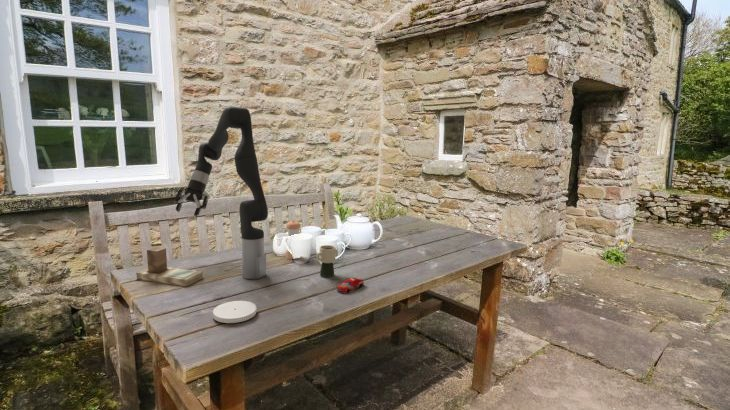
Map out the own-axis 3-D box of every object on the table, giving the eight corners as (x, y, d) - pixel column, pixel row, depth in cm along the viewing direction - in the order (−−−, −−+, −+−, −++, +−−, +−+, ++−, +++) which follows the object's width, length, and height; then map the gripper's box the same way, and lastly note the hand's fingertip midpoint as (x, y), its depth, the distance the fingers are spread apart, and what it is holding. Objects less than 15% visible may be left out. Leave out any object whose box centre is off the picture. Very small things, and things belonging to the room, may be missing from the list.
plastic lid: (230, 305, 142) (229, 298, 141) (264, 311, 138) (264, 304, 137) (203, 321, 129) (203, 314, 128) (240, 329, 125) (240, 321, 124)
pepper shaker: (283, 257, 198) (283, 220, 195) (294, 254, 203) (294, 218, 200) (291, 260, 193) (291, 222, 190) (303, 257, 199) (303, 220, 195)
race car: (344, 295, 153) (344, 286, 153) (334, 292, 157) (334, 282, 156) (365, 286, 163) (366, 277, 163) (356, 283, 167) (356, 274, 166)
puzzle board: (202, 278, 166) (202, 271, 165) (186, 286, 156) (186, 279, 156) (155, 271, 172) (154, 264, 171) (136, 279, 162) (136, 272, 161)
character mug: (332, 270, 180) (332, 243, 178) (341, 275, 175) (342, 247, 173) (312, 275, 173) (312, 247, 171) (321, 280, 168) (321, 251, 166)
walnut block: (167, 275, 167) (166, 248, 165) (158, 279, 162) (157, 251, 160) (157, 274, 168) (156, 247, 166) (148, 277, 163) (146, 250, 161)
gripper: (181, 175, 185) (168, 208, 180) (210, 183, 185) (198, 215, 180) (186, 180, 192) (174, 212, 187) (215, 188, 192) (203, 219, 188)
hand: (186, 213), depth 184 cm, fingers open, 8 cm apart
